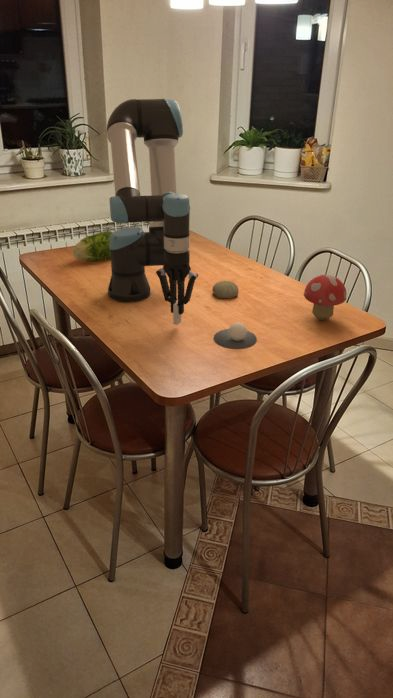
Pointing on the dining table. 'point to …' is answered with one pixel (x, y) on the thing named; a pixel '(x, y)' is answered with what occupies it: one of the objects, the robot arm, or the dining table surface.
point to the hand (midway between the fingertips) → (177, 322)
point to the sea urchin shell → (225, 289)
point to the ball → (237, 331)
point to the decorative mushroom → (325, 295)
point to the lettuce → (93, 247)
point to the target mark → (226, 341)
